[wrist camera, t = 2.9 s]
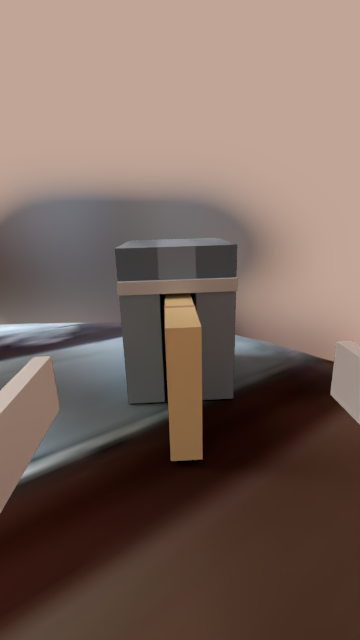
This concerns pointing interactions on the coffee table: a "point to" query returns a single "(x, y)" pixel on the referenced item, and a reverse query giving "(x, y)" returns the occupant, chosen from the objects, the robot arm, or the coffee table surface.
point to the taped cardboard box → (184, 376)
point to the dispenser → (149, 319)
